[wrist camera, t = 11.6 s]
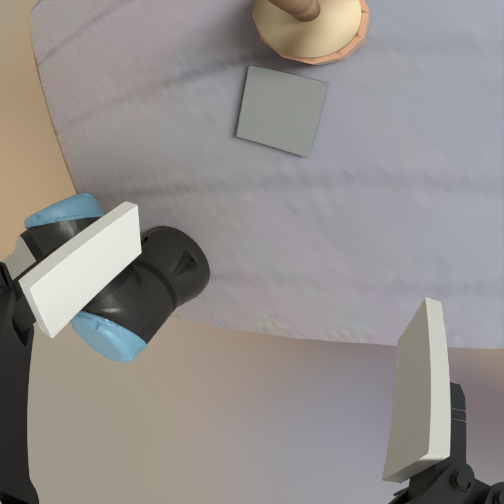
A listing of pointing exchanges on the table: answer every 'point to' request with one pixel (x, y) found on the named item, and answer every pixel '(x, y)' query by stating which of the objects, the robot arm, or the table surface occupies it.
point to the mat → (281, 109)
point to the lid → (308, 25)
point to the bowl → (339, 55)
